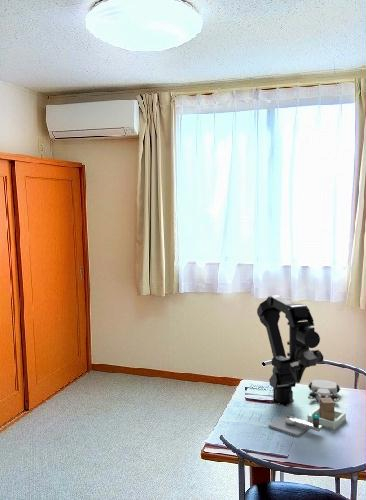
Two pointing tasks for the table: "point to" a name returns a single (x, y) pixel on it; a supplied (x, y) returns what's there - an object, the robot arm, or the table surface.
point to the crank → (304, 422)
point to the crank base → (287, 426)
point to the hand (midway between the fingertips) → (297, 382)
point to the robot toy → (323, 389)
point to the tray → (338, 420)
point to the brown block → (327, 409)
